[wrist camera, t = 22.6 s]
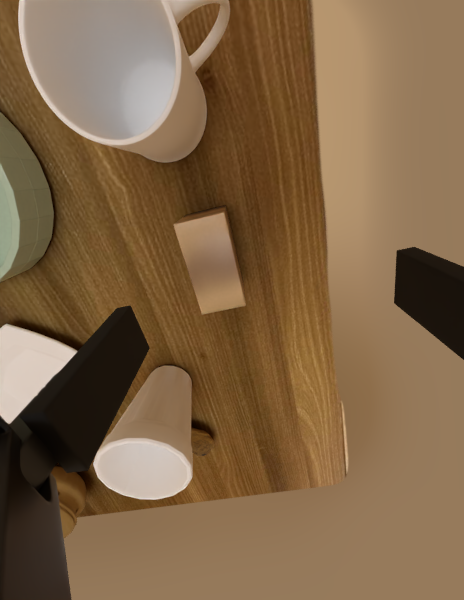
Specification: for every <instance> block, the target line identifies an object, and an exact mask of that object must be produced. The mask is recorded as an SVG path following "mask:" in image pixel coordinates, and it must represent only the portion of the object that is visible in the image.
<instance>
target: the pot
mask: <svg viewBox="0 0 464 600" xmlns="http://www.w3.org/2000/svg"><path fill="white" fill-rule="evenodd" d="M51 473H52V474H53V476H54V477H55V479H56V483H57V491H58V499H59V507H60V515H61V522H62V530H63V538H66V537H67V536H68V535H69V534H70V533H71V532H72V531H73V529H74V527H75V525H76V523H77V517H76V516H77V515H78V514H79V513H80V512H81V511H82V510H83V508H84V507H85V503H86V487H85V483H84V481H83V479H82V478H81V477H80V476H79V475H78V474H77V473H76V472H72V473H66V472H65V470H64V469H63V468H62V467H58V466H55V467H54V468H53V470H52V472H51Z"/></svg>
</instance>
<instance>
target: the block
mask: <svg viewBox="0 0 464 600" xmlns="http://www.w3.org/2000/svg"><path fill="white" fill-rule="evenodd" d="M174 229H175V232H176V235H177V238H178V241H179V244H180V247H181V250H182V254H183V257H184V260H185V263H186V266H187V269H188V272H189V275H190V279H191V282H192V285H193V288H194V291H195V294H196V297H197V300H198V304H199V307H200V310H201V313H202V314H207V313H212V312H217V311H222V310H227V309H232V308H236V307H241V306H246V302H245V293H244V284H243V278H242V274H241V269H240V265H239V260H238V256H237V252H236V247H235V243H234V238H233V234H232V230H231V225H230V221H229V216H228V212H227V208H226V205H223V206H219V207H215V208H211V209H207V210H203V211H199V212H195V213H191V214H187V215H185V216H184V217H183V218H181V219H180V220H179V221H177V222H176V223H175V224H174Z"/></svg>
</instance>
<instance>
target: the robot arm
mask: <svg viewBox="0 0 464 600" xmlns="http://www.w3.org/2000/svg"><path fill="white" fill-rule="evenodd" d="M395 278H396V279H395V297H394V303H395V304H396V305H397V306H398V307H400V308H401V309H402V310H403V311H404V312H406V313H407V314H408V315H409V316H411V317H412V318H413V319H414V320H415V321H417V322H418V323H419V324H421V325H422V326H423V327H424V328H425V329H427V330H428V331H429V332H430V333H431V334H433V335H434V336H435V337H436V338H438V339H439V340H440V341H441V342H442V343H444V344H445V345H446V346H447V347H449V348H450V349H451V350H452V351H454V352H455V353H456V354H457V355H458V356H460V357H461V358H462V359H463V360H464V267H463V266H460V265H458V264H455V263H453V262H450V261H448V260H445V259H443V258H440V257H438V256H435V255H433V254H431V253H428V252H426V251H423V250H421V249H418V248H416V247H412V248H407V249H402V250H397V257H396V277H395ZM148 350H149V345H148V343H147V341H146V339H145V337H144V334H143V332H142V330H141V328H140V326H139V323H138V321H137V319H136V317H135V314H134V312H133V310H132V308H131V306H125V307H121V308H117V309H116V310H115V311H114V312H113V313H112V314H111V315H110V316H109V317H108V319H107V320H106V321H105V322H104V323H103V324H102V325H101V326H100V327H99V328H98V330H97V331H96V332H95V333H94V334H93V335H92V336H91V337H90V338H89V339H88V341H87V342H86V343H85V344H84V345H83V346H82V347H81V348H80V349H79V351H78V352H77V353H76V354H75V355H74V356H73V357H72V358H71V359H70V360H69V362H68V363H67V364H66V365H65V366H64V367H63V368H62V369H61V370H60V371H59V372H58V373H57V374H55V375H54V376H53V377H52V378H51V380H50V381H49V382H48V383H47V384H46V385H45V387H43V388H42V389H41V390H40V392H39V393H38V395H37V396H35V397H34V398H33V399H32V400H31V401H30V402H29V404H28V405H27V406H26V407H25V408H24V409H23V410H22V411H21V412H20V413H19V415H18V416H17V417H16V418H15V419H14V420H13V421H12V422H11V423H10V424H9V425H8V423H7V422H6V421H5V420H4V419H3V418H2V417H1V415H0V600H71V594H70V586H69V578H68V571H67V562H66V555H65V547H64V538H63V530H62V522H61V515H60V507H59V499H58V491H57V483H56V479H55V477H54V476H53V474H52V473H51V472H52V470H53V468H54V467H55V465H56V464H57V462H58V463H59V464H60V466H61V467H62V468H63V469H64V470H65V472H66V473H72V472H79V471H87V470H88V469H89V467H90V465H91V463H92V461H93V459H94V457H95V455H96V453H97V451H98V449H99V447H100V445H101V443H102V441H103V439H104V437H105V435H106V433H107V431H108V429H109V427H110V425H111V423H112V421H113V420H114V418H115V416H116V414H117V412H118V410H119V408H120V406H121V404H122V402H123V400H124V398H125V396H126V394H127V392H128V390H129V388H130V386H131V384H132V382H133V380H134V378H135V376H136V374H137V372H138V370H139V368H140V366H141V364H142V362H143V360H144V358H145V356H146V354H147V352H148Z"/></svg>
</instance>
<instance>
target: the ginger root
mask: <svg viewBox="0 0 464 600" xmlns="http://www.w3.org/2000/svg"><path fill="white" fill-rule="evenodd" d="M214 445H215V442H214V440H213V439H212V438H211V436H210V435H209V434H208V433H207V432H206V431H204V430H199V429H196V428H192V427H191V447H192V453H194V454H196V455H198V456H204V455H206V454H208V453H209V452H210V450H211V449H212V448H213V447H214Z"/></svg>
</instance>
